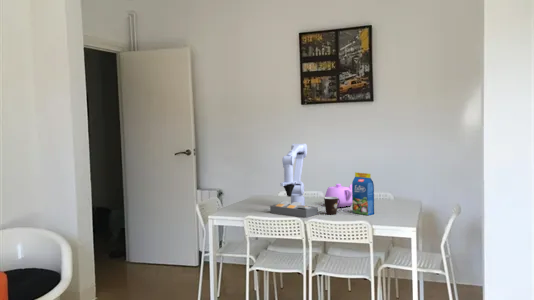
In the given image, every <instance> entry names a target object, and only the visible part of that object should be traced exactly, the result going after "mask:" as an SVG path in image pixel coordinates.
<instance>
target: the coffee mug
mask: <svg viewBox="0 0 534 300" xmlns="http://www.w3.org/2000/svg"><path fill="white" fill-rule="evenodd" d="M323 199H324V200H323V201H324V209H325V215H328V216H335V215H338V208H337V206H338V205H339V203H340V200H339V199H338V197H325V196H324V197H323ZM338 200H339V203H338Z"/></svg>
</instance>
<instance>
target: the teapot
mask: <svg viewBox="0 0 534 300" xmlns="http://www.w3.org/2000/svg"><path fill="white" fill-rule="evenodd" d="M325 197H338V199H339V200H340V203H339V200H338V203H339V205H338V206H337V209H340V207H341V208H344V207H346V206H348V207H349V206H351V207H352V183H350V185H349V186H343V185H342V183H336V184H335V185H334V186H329V187H327V189H326V192H325V195H324V198H325Z"/></svg>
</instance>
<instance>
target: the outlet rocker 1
mask: <svg viewBox="0 0 534 300" xmlns="http://www.w3.org/2000/svg"><path fill="white" fill-rule="evenodd" d="M288 204H291V201H287V200H285V201H284V200H282V201H281V202H279V203H277V205H276V204H275V205H276V206H278V207H283V206H287V205H288Z"/></svg>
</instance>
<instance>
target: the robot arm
mask: <svg viewBox="0 0 534 300" xmlns="http://www.w3.org/2000/svg"><path fill="white" fill-rule="evenodd" d="M290 149H291V150H289V151H288V152H287V154H286V155H284V156H283V157H282V161H281V162H282V168H283V181H282V182H280V187H283V188H284V191H285V193H286V197H288V198H289V197H290V204H292V203H293V202H300V203H301V205H303V206H306V205H305V204H306V203H305V202H306V199H305V195H304V193H305V183H304V182H303V181H302V173H303V165H304V160H305V158H307V154H308V145H307V143H292V144H291V146H290ZM295 159H296V160H295ZM294 164H295V167H294Z"/></svg>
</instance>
